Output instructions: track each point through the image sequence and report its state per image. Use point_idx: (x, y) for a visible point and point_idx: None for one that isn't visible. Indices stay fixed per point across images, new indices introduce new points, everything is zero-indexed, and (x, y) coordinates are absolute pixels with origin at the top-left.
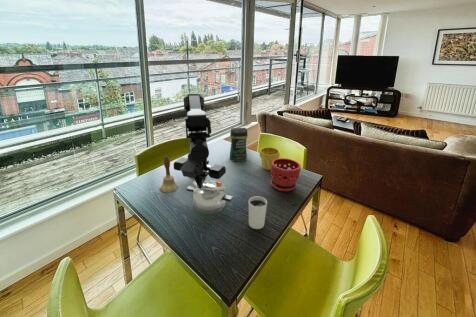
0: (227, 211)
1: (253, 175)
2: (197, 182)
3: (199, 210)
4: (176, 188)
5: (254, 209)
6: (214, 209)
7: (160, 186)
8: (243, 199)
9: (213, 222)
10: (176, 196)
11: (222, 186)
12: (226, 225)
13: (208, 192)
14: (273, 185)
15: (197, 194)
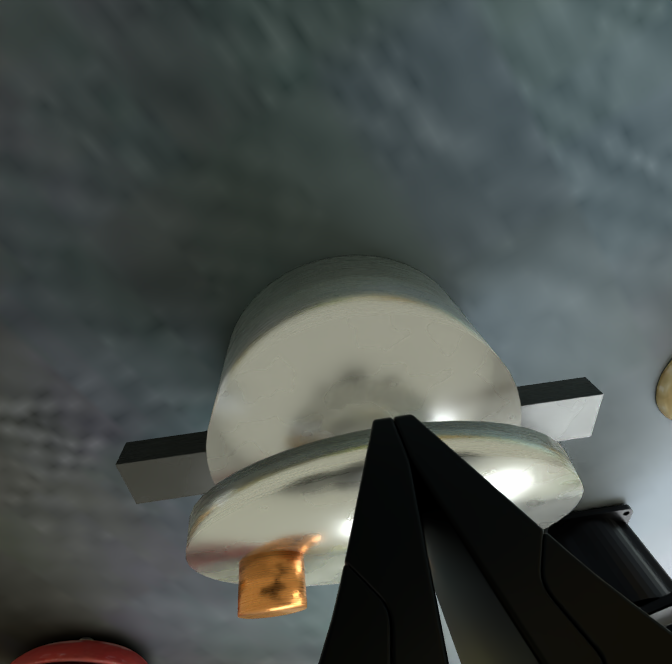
0: (176, 369)
1: (284, 654)
2: (467, 512)
3: (361, 260)
4: (667, 385)
5: None
6: (242, 324)
7: None
8: (181, 507)
9: (166, 202)
10: (630, 318)
11: (228, 568)
12: (44, 227)
13: None
14: (98, 661)
15: (448, 371)
